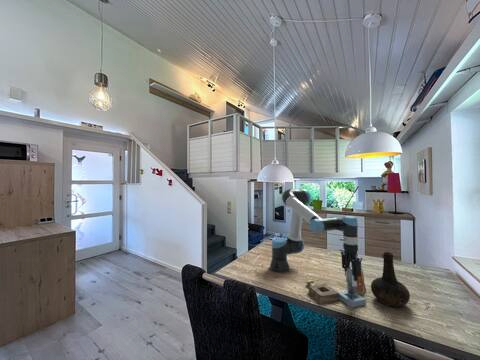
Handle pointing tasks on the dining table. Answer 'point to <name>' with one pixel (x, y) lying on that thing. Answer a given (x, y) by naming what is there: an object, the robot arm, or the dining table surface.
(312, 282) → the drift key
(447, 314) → the dining table surface
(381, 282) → the glass bottle
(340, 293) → the square frame
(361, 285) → the milk carton
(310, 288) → the socket block
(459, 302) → the dining table surface
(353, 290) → the grey round-ended peg
